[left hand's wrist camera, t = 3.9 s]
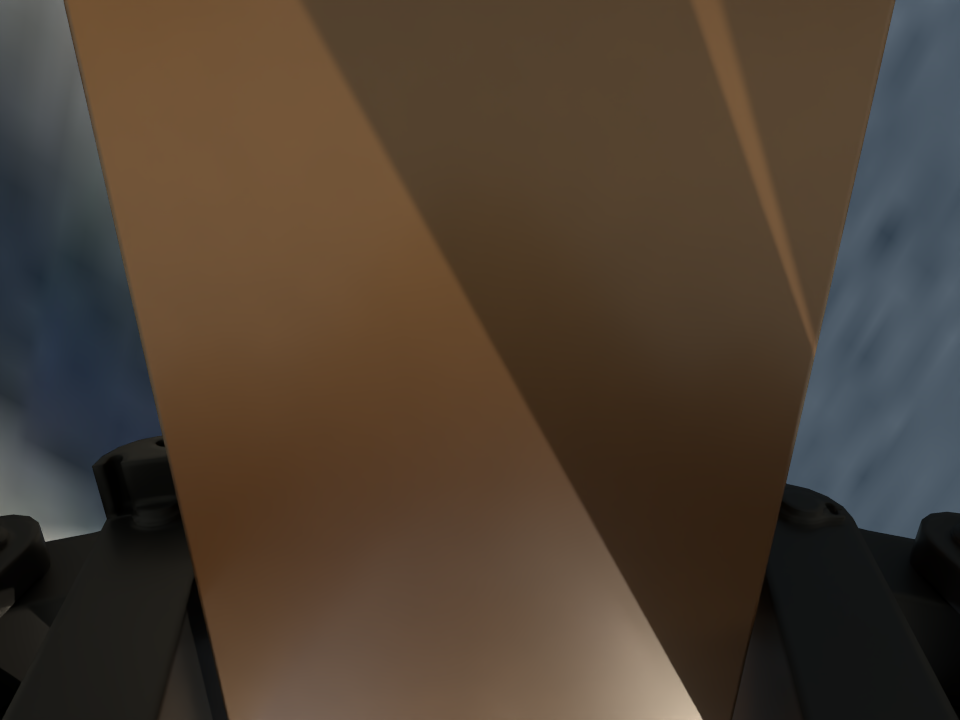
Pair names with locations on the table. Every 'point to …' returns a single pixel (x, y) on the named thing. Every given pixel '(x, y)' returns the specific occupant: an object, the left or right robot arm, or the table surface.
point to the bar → (479, 330)
